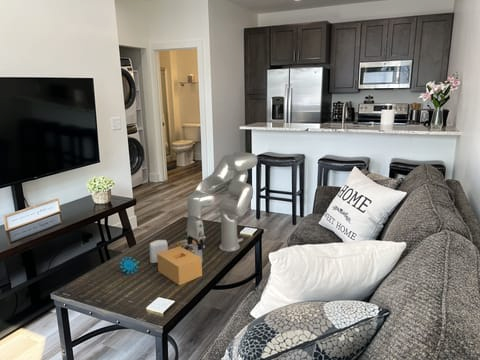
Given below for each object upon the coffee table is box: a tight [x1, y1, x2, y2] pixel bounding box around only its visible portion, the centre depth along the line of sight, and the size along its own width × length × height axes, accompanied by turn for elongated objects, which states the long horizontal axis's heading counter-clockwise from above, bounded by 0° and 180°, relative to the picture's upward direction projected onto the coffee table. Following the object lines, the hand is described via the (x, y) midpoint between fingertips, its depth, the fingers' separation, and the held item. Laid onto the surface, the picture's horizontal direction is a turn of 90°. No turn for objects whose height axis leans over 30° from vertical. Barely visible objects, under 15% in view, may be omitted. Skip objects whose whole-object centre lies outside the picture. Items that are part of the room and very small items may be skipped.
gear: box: [119, 256, 140, 275], centre depth 191 cm, size 11×6×10 cm
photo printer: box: [149, 239, 169, 264], centre depth 201 cm, size 10×4×12 cm, turn 116°
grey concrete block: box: [187, 244, 206, 260], centre depth 199 cm, size 9×4×9 cm, turn 133°
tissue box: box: [157, 245, 203, 286], centre depth 187 cm, size 14×20×10 cm
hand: (195, 246), depth 197 cm, fingers open, 9 cm apart
